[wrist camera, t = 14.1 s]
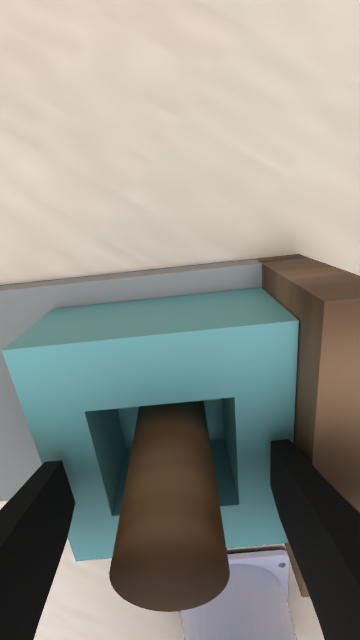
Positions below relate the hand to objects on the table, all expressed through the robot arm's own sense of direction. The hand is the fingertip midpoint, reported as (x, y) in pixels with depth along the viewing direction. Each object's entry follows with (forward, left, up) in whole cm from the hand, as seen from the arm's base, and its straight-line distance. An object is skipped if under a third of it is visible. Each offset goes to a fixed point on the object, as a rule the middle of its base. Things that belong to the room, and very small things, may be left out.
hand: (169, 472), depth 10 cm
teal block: (0, 0, -4) cm, 4 cm away
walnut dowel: (0, 0, -4) cm, 4 cm away
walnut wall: (0, -6, -6) cm, 8 cm away
